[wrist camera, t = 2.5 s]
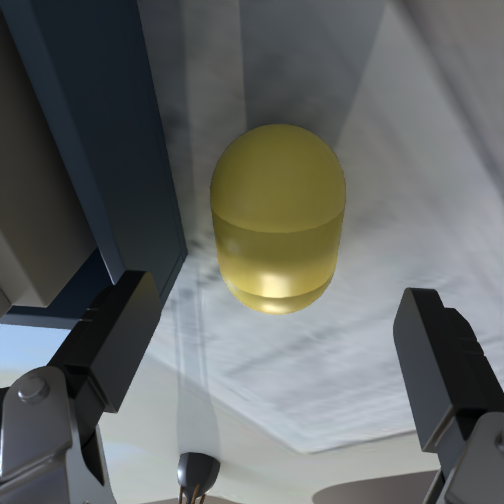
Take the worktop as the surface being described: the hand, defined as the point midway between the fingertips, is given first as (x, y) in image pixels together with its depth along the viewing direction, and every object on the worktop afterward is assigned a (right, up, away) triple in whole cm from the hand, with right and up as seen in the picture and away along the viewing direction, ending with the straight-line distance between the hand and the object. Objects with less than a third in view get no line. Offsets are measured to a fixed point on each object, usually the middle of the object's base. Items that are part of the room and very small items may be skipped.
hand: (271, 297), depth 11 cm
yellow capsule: (+1, +4, +5) cm, 7 cm away
